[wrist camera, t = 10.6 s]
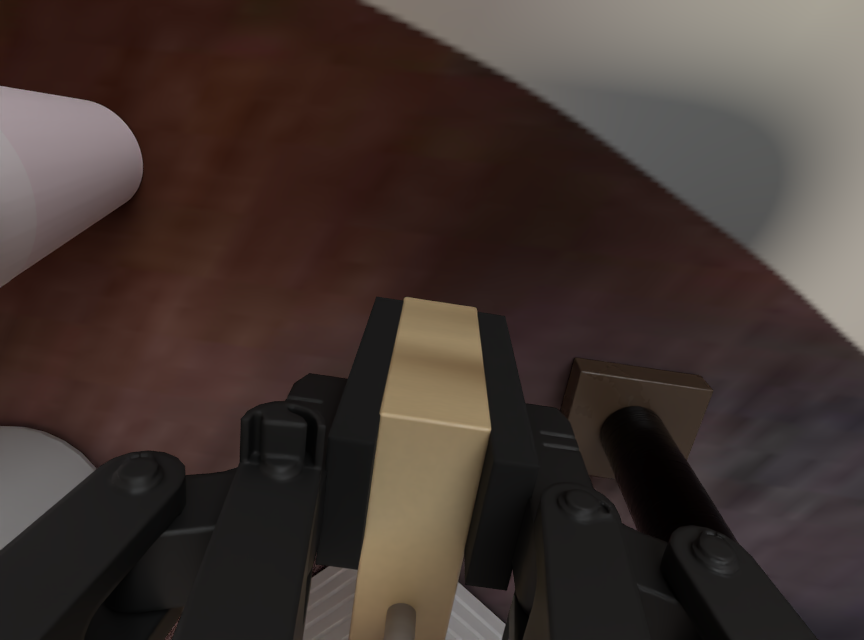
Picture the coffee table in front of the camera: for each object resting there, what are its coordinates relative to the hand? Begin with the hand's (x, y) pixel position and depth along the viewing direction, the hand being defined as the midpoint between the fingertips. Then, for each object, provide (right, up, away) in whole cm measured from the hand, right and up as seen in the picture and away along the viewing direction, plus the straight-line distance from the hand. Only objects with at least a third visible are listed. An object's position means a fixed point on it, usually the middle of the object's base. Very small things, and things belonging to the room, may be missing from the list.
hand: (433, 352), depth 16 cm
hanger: (-1, -4, +2) cm, 5 cm away
